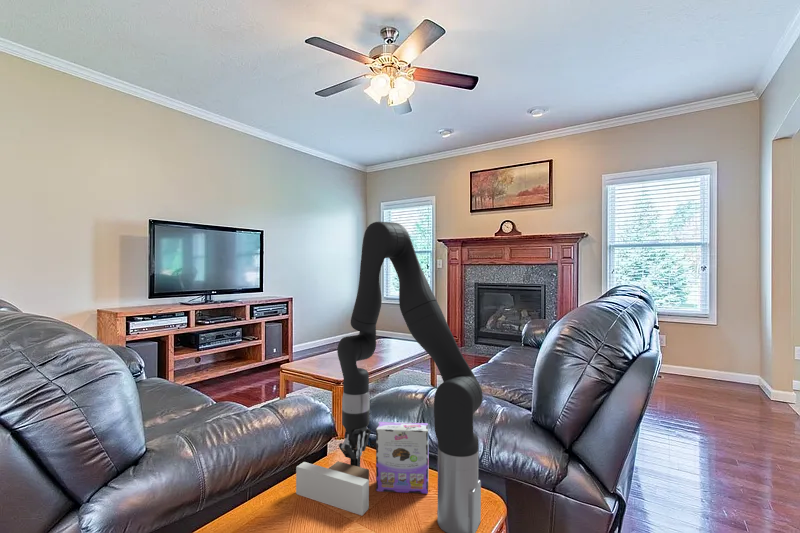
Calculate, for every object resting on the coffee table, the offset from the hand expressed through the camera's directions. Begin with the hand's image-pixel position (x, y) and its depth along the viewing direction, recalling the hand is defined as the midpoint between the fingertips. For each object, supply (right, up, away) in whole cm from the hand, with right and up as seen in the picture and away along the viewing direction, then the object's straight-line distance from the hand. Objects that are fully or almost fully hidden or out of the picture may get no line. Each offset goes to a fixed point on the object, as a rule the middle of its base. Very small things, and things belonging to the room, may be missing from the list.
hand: (355, 469), depth 110 cm
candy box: (+13, -3, -4) cm, 14 cm away
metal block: (-2, -3, -6) cm, 7 cm away
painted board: (-5, -3, -10) cm, 12 cm away
